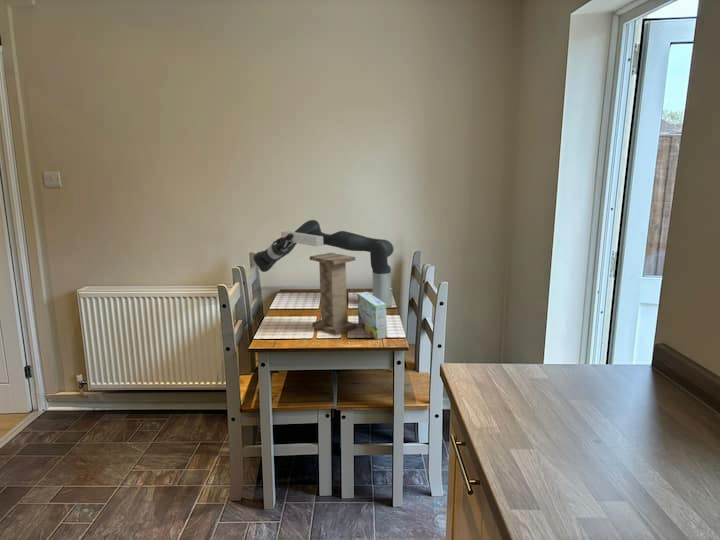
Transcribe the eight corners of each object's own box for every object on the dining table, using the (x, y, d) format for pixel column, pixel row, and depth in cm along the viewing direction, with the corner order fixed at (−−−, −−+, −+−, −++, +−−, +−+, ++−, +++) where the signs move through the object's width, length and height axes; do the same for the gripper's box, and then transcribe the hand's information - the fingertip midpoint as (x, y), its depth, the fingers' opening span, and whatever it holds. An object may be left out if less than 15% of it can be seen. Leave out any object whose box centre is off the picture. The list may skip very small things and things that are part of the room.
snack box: (357, 325, 217) (356, 292, 213) (368, 323, 219) (368, 291, 215) (375, 340, 197) (374, 305, 194) (387, 338, 199) (387, 303, 196)
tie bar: (281, 240, 228) (281, 232, 228) (288, 239, 231) (288, 231, 230) (316, 246, 210) (316, 237, 209) (323, 245, 213) (323, 236, 212)
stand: (312, 326, 215) (309, 256, 208) (332, 320, 223) (330, 252, 216) (336, 335, 204) (333, 261, 197) (356, 328, 212) (355, 256, 205)
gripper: (263, 243, 231) (280, 228, 219) (287, 240, 241) (304, 225, 228) (268, 258, 230) (285, 243, 218) (292, 253, 240) (310, 239, 227)
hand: (295, 234), depth 223 cm, fingers closed on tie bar, 4 cm apart
